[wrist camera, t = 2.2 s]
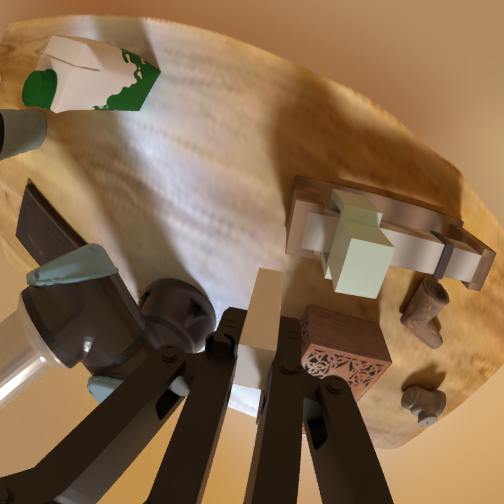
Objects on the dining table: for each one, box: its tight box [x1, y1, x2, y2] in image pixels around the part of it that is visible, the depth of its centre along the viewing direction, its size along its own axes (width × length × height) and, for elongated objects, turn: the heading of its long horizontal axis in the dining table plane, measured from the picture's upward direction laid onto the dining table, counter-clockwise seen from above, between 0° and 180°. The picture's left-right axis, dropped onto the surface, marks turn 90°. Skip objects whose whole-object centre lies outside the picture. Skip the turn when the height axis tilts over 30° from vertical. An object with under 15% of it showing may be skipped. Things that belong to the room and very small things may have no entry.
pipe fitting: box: [401, 386, 446, 427], centre depth 47 cm, size 12×8×10 cm
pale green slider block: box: [320, 189, 395, 299], centre depth 27 cm, size 4×8×13 cm, turn 172°
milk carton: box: [22, 35, 161, 113], centre depth 24 cm, size 9×9×20 cm
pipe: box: [400, 278, 449, 349], centre depth 40 cm, size 6×17×10 cm
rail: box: [285, 176, 496, 291], centre depth 32 cm, size 29×8×11 cm, turn 82°
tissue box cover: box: [256, 304, 392, 434], centre depth 45 cm, size 26×14×10 cm, turn 163°
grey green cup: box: [0, 109, 47, 160], centre depth 32 cm, size 10×10×12 cm
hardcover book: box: [16, 183, 87, 266], centre depth 47 cm, size 16×23×2 cm
